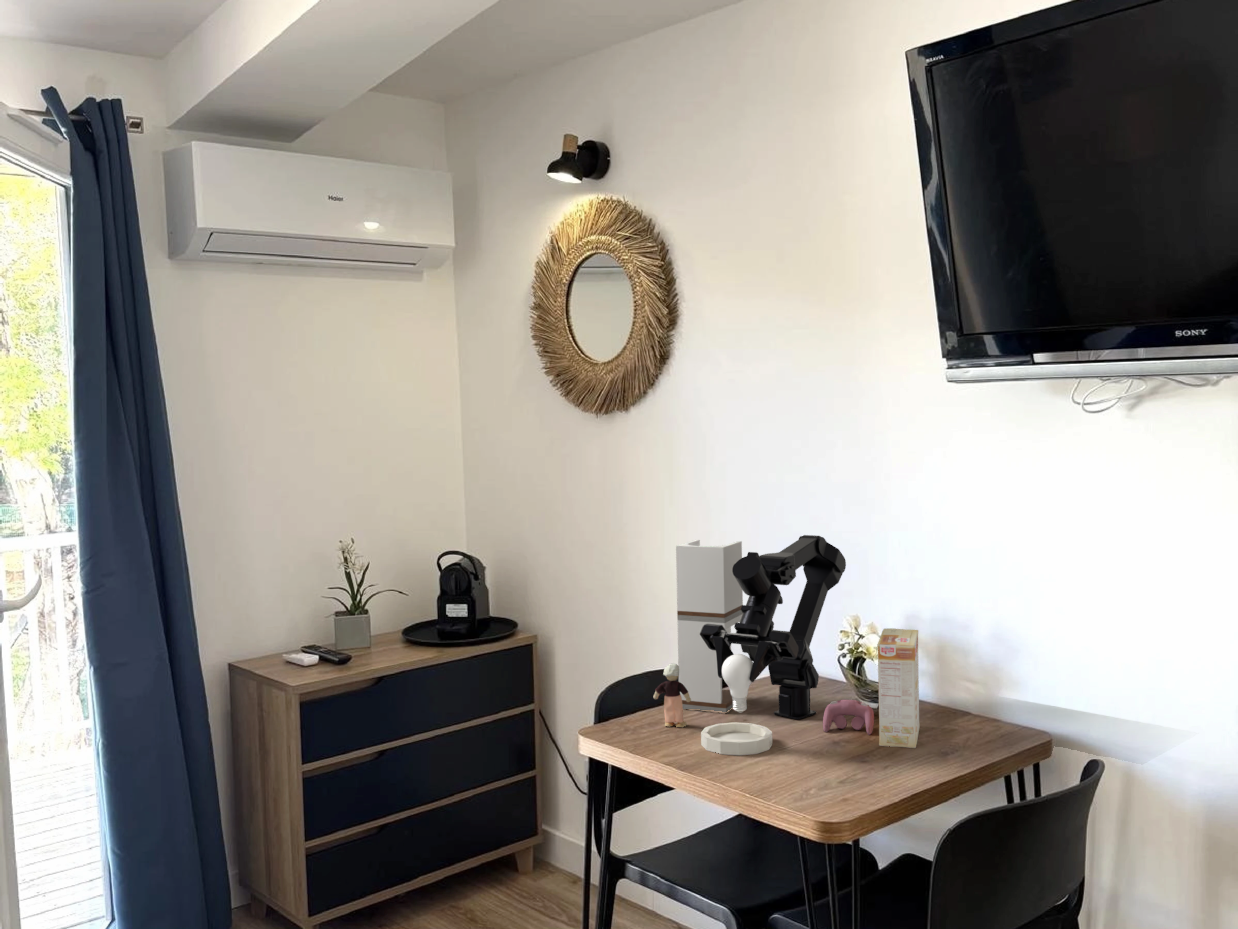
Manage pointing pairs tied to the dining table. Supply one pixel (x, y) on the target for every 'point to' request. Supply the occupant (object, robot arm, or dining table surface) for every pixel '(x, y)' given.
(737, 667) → the lightbulb
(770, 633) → the robot arm
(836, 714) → the video game controller
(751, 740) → the dish
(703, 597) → the white tower with stripe
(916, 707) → the coffeecake box
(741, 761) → the dining table surface
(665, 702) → the grandmother figurine
